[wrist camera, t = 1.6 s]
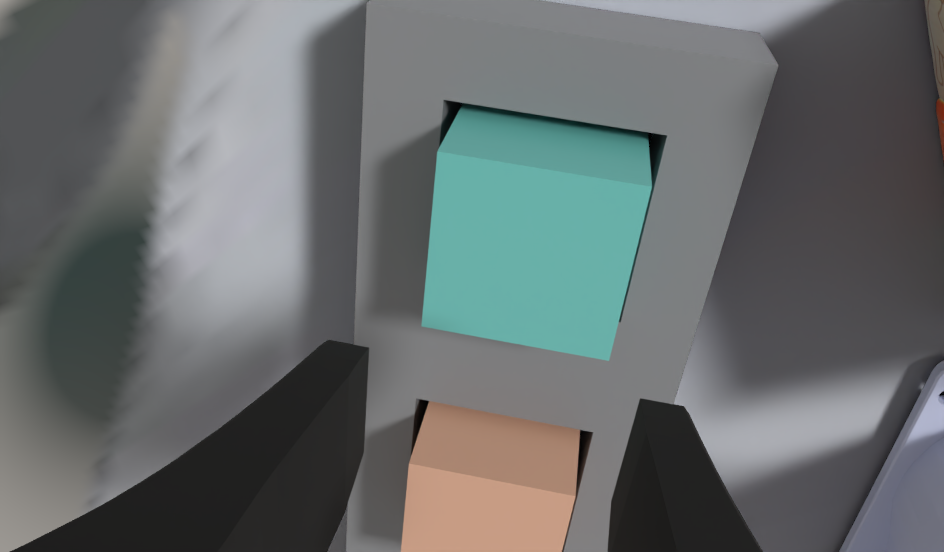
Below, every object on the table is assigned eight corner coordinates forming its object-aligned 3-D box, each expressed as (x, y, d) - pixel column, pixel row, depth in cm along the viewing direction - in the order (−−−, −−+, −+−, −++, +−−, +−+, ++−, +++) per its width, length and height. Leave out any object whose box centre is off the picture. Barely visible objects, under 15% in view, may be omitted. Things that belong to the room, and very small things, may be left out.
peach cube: (557, 504, 24) (548, 604, 21) (426, 478, 24) (398, 573, 21) (581, 401, 22) (575, 496, 19) (437, 374, 22) (409, 463, 19)
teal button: (611, 276, 20) (608, 361, 17) (451, 248, 20) (421, 326, 17) (647, 121, 18) (652, 187, 15) (467, 93, 18) (437, 151, 15)
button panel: (569, 684, 30) (565, 751, 28) (360, 638, 30) (339, 701, 28) (759, 33, 17) (778, 65, 15) (396, -21, 18) (366, 2, 16)
